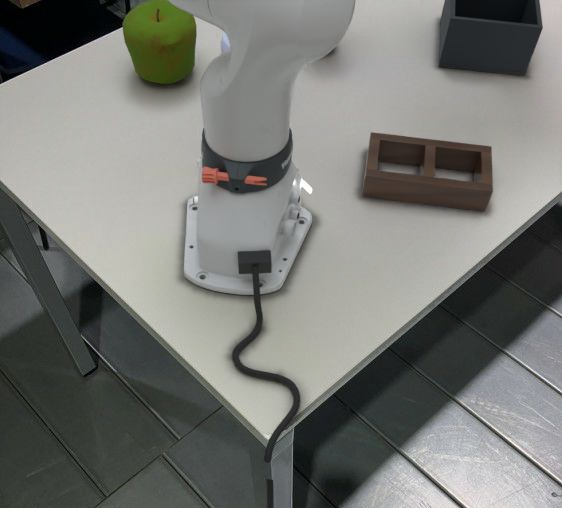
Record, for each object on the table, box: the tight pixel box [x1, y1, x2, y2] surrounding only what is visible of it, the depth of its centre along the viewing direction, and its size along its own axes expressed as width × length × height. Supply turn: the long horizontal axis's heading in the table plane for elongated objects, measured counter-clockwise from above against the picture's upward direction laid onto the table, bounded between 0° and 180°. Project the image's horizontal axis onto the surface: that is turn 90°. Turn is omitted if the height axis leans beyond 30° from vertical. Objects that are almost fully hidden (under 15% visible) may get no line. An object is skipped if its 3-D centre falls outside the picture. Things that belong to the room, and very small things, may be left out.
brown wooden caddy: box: [361, 131, 494, 212], centre depth 96 cm, size 10×19×4 cm, turn 81°
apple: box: [121, 0, 198, 86], centre depth 106 cm, size 12×12×11 cm
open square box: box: [438, 0, 544, 77], centre depth 113 cm, size 16×16×9 cm
